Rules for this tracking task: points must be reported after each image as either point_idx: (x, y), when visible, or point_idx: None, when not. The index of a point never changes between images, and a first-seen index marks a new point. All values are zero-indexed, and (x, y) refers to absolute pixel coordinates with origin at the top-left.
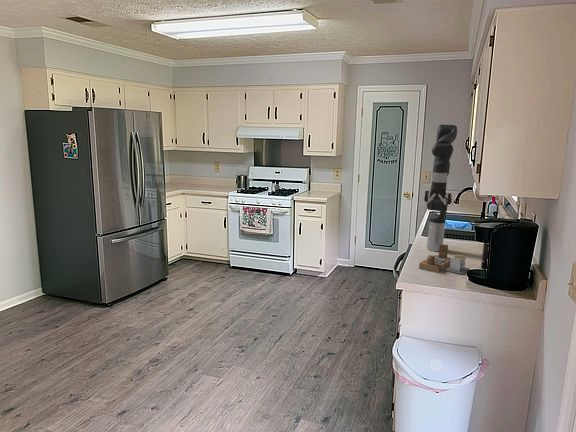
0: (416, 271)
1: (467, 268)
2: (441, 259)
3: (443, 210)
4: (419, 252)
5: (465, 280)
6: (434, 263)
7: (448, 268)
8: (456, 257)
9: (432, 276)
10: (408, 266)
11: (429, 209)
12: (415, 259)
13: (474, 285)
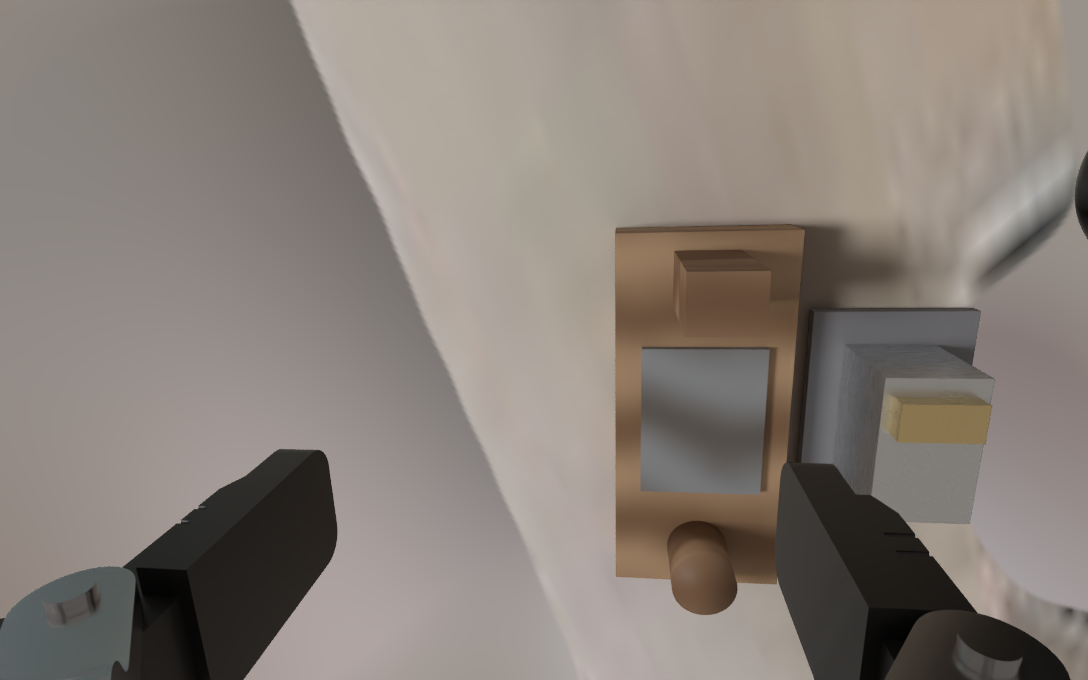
0: (635, 622)
1: (960, 329)
2: (734, 391)
3: (792, 599)
4: (394, 81)
5: (993, 593)
6: (718, 517)
7: (816, 444)
8: (910, 454)
9: (765, 652)
10: (540, 555)
11: (331, 524)
12: (486, 345)
13: (1072, 653)
